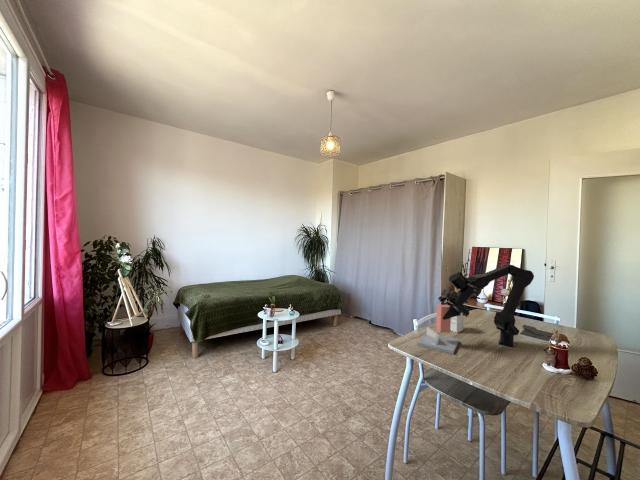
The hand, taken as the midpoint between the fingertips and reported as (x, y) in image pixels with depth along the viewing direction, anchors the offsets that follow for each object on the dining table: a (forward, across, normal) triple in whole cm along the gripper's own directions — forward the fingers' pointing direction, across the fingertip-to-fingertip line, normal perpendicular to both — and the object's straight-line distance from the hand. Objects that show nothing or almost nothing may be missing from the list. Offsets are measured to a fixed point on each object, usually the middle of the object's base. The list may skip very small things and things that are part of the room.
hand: (440, 317), depth 132 cm
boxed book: (+4, 0, +6) cm, 7 cm away
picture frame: (-33, -9, +54) cm, 64 cm away
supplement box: (-4, -20, +24) cm, 31 cm away
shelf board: (+10, -1, +9) cm, 13 cm away
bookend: (+11, -1, +6) cm, 13 cm away
